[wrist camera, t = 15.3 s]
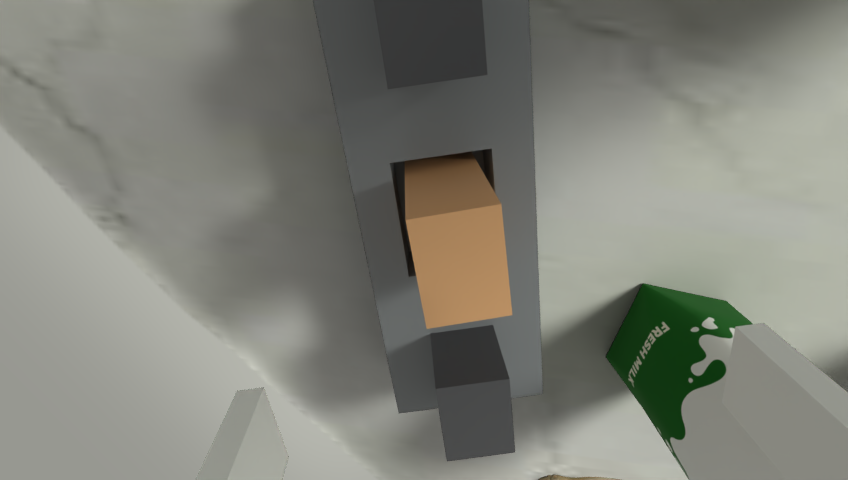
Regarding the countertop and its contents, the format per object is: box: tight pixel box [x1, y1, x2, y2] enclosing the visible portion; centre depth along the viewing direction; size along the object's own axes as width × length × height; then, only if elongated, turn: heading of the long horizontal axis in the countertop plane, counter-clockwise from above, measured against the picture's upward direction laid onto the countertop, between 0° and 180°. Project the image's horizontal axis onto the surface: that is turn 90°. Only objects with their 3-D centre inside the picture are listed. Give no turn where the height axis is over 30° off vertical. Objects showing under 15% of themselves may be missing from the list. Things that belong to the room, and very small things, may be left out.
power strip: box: [313, 0, 543, 461], centre depth 24 cm, size 38×10×10 cm, turn 8°
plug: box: [405, 152, 512, 329], centre depth 25 cm, size 6×4×10 cm
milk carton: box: [606, 284, 786, 480], centre depth 27 cm, size 9×9×20 cm
